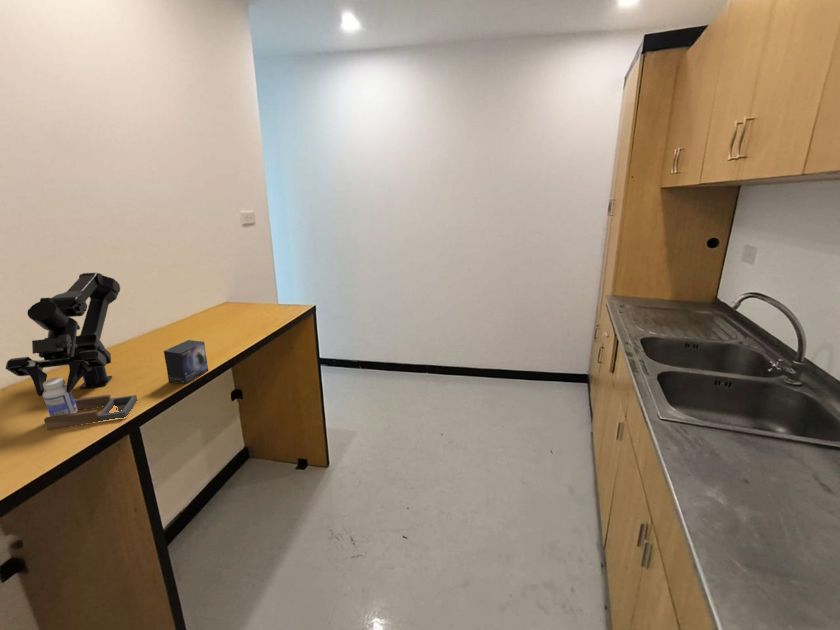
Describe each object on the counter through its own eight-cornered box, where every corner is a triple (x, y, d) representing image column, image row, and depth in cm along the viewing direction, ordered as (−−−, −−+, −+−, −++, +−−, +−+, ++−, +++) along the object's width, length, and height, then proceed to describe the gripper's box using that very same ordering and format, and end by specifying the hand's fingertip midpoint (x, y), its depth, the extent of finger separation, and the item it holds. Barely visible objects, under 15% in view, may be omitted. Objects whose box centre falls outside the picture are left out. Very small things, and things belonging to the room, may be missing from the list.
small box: (186, 384, 123) (180, 352, 120) (167, 382, 124) (161, 351, 121) (209, 370, 133) (205, 340, 130) (192, 368, 134) (187, 339, 131)
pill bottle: (65, 408, 107) (54, 375, 104) (83, 409, 106) (72, 376, 103) (44, 420, 102) (32, 385, 99) (63, 421, 101) (52, 386, 98)
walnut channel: (65, 410, 108) (62, 400, 107) (112, 404, 111) (109, 394, 110) (47, 430, 99) (43, 419, 98) (98, 422, 102) (95, 412, 101)
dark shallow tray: (113, 404, 111) (111, 398, 111) (137, 400, 113) (136, 394, 113) (99, 422, 102) (97, 416, 102) (126, 418, 104) (124, 412, 104)
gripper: (-3, 328, 97) (-16, 389, 91) (91, 320, 104) (85, 377, 97) (23, 347, 106) (13, 404, 100) (108, 338, 113) (104, 391, 106)
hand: (54, 394), depth 101 cm, fingers closed on pill bottle, 5 cm apart
